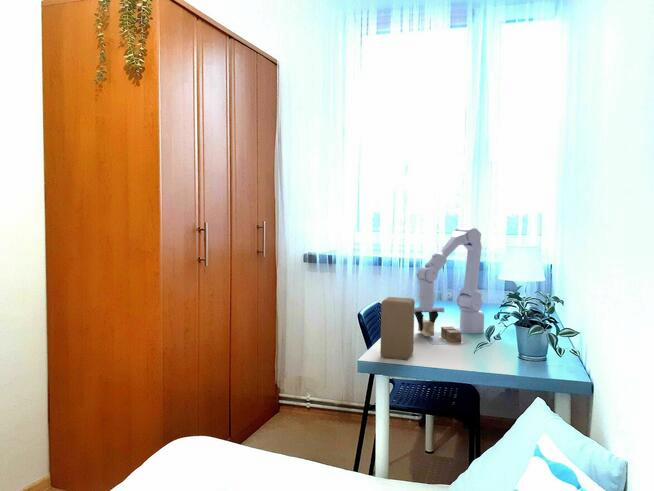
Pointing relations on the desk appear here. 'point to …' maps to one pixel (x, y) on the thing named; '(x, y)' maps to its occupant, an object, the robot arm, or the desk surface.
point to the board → (441, 339)
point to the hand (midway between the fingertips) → (425, 330)
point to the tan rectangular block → (427, 327)
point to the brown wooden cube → (443, 331)
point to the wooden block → (397, 328)
